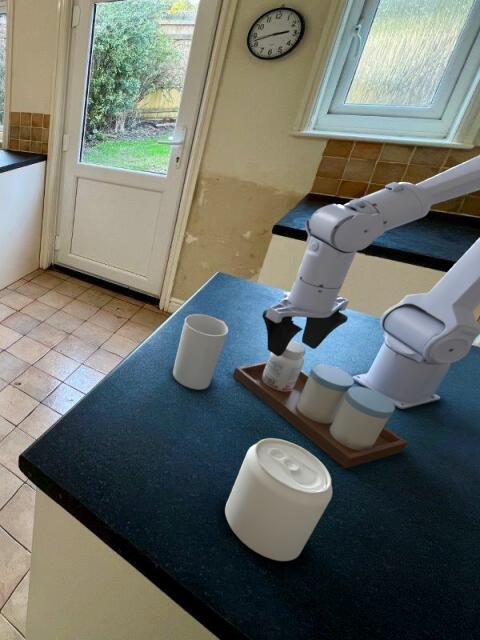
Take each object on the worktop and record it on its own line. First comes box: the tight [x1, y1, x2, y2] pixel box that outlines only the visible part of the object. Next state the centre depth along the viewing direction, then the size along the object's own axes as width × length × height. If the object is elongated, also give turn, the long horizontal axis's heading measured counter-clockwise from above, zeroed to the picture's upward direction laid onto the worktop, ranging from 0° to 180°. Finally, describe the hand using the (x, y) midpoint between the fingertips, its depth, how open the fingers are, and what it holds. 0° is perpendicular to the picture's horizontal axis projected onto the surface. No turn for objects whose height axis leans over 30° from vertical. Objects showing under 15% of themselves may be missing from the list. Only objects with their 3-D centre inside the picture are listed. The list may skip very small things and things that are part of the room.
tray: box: [232, 360, 408, 469], centre depth 70 cm, size 11×20×2 cm, turn 14°
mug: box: [172, 313, 229, 390], centre depth 75 cm, size 10×7×12 cm, turn 118°
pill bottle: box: [262, 339, 307, 392], centre depth 73 cm, size 5×5×8 cm
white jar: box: [297, 363, 355, 423], centre depth 67 cm, size 5×5×8 cm
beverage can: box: [224, 437, 333, 562], centre depth 50 cm, size 8×8×12 cm
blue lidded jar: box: [330, 386, 396, 451], centre depth 62 cm, size 5×5×8 cm
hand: (291, 348), depth 72 cm, fingers open, 7 cm apart
